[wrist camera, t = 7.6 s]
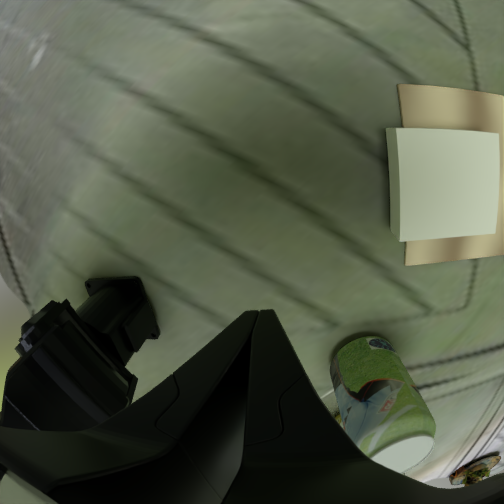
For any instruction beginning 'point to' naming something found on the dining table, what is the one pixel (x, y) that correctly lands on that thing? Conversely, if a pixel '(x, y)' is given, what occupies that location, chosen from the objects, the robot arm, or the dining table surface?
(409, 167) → the tile
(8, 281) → the dining table surface
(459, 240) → the mat
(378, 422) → the beverage can
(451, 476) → the burger
